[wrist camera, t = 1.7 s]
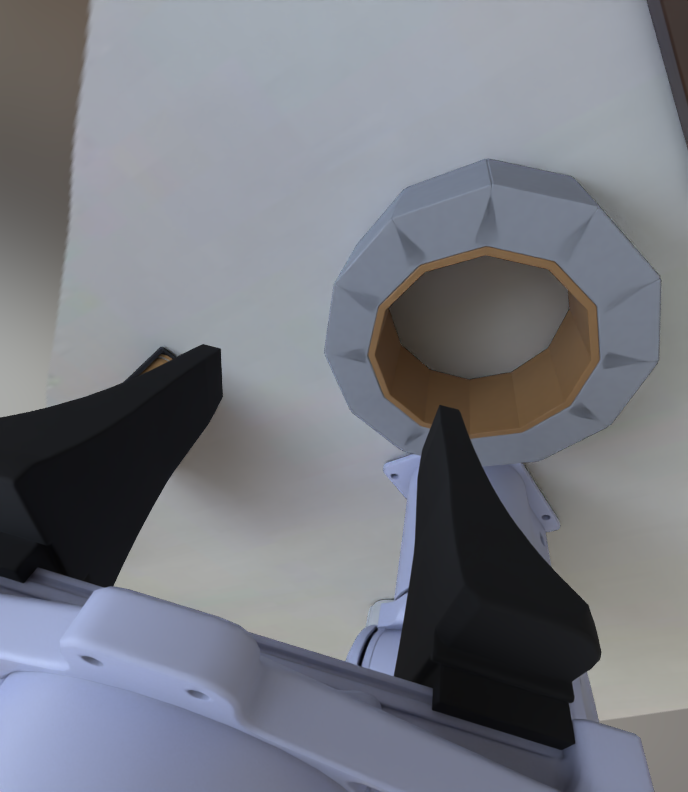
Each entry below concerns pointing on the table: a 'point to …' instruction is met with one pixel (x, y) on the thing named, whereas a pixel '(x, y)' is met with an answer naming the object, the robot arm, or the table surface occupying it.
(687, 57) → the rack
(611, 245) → the tape roll
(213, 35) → the table surface
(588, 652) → the robot arm
